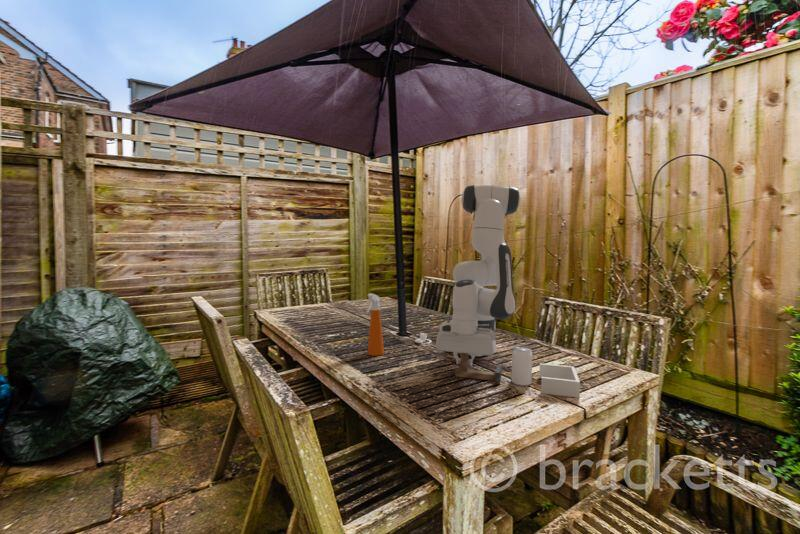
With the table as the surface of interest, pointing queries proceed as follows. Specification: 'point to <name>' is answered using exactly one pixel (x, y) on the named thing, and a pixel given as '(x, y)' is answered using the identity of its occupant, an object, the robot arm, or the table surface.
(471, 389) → the table surface
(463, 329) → the robot arm
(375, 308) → the spray bottle
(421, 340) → the teacup and saucer
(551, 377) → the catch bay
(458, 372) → the brown l-shaped rod
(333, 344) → the table surface
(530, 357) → the can
